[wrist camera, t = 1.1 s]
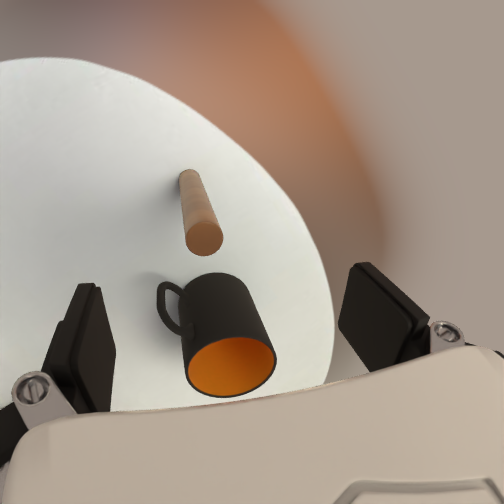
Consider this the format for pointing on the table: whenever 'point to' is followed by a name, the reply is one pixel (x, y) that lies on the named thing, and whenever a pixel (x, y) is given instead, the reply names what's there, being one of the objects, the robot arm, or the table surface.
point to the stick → (198, 216)
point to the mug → (220, 335)
